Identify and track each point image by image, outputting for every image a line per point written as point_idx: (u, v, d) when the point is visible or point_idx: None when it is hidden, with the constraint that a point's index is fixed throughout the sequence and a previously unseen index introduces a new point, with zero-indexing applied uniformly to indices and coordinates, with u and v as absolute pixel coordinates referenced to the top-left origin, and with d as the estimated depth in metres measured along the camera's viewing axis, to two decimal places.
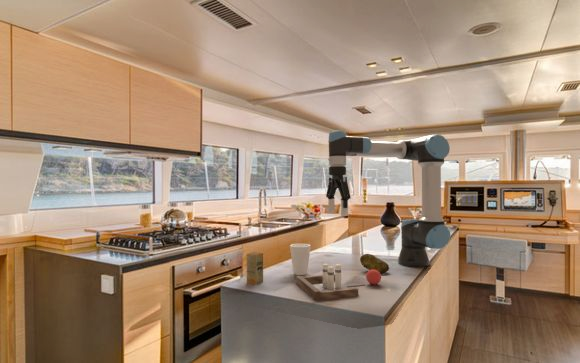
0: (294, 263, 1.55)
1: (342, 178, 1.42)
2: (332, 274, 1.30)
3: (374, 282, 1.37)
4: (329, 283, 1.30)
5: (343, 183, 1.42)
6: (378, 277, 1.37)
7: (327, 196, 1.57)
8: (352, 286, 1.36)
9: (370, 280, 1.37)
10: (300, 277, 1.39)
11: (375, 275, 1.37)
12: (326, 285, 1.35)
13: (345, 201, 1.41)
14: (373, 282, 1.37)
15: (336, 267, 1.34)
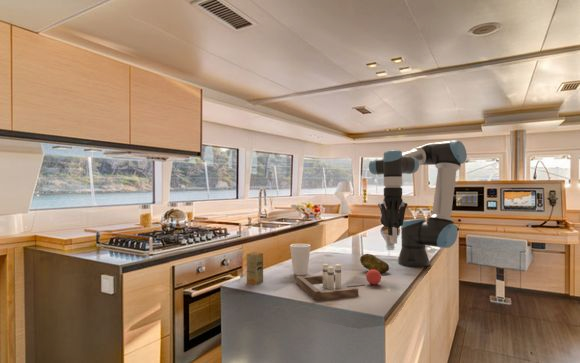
0: (294, 263, 1.55)
1: (379, 205, 1.42)
2: (332, 274, 1.30)
3: (374, 282, 1.37)
4: (329, 283, 1.30)
5: (381, 210, 1.42)
6: (378, 277, 1.37)
7: None
8: (352, 286, 1.36)
9: (370, 280, 1.37)
10: (300, 277, 1.39)
11: (375, 275, 1.37)
12: (326, 285, 1.35)
13: (388, 228, 1.42)
14: (373, 282, 1.37)
15: (336, 267, 1.34)
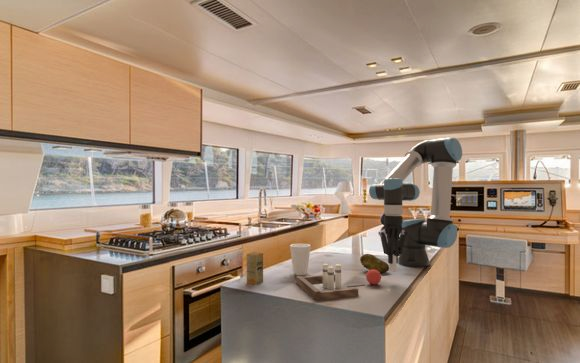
0: (294, 263, 1.55)
1: (379, 234, 1.41)
2: (332, 274, 1.30)
3: (374, 282, 1.37)
4: (329, 283, 1.30)
5: (381, 238, 1.41)
6: (378, 277, 1.37)
7: None
8: (352, 286, 1.36)
9: (370, 280, 1.37)
10: (300, 277, 1.39)
11: (375, 275, 1.37)
12: (326, 285, 1.35)
13: (388, 256, 1.42)
14: (373, 282, 1.37)
15: (336, 267, 1.34)
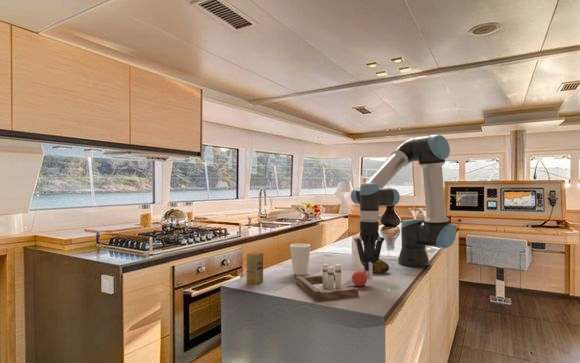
0: (294, 263, 1.55)
1: (355, 240, 1.38)
2: (332, 274, 1.30)
3: (366, 280, 1.36)
4: (329, 283, 1.30)
5: (357, 245, 1.38)
6: (361, 279, 1.34)
7: None
8: (352, 286, 1.36)
9: None
10: (300, 277, 1.39)
11: (361, 282, 1.35)
12: (326, 285, 1.35)
13: (364, 263, 1.38)
14: (366, 280, 1.36)
15: (336, 267, 1.34)
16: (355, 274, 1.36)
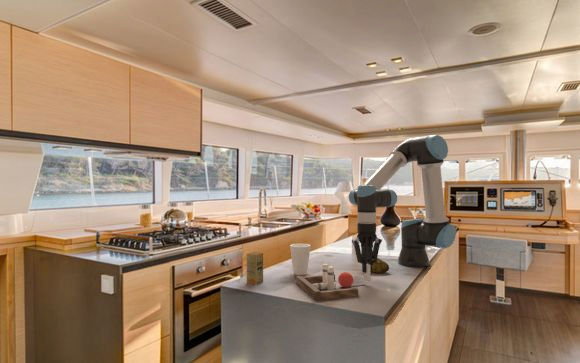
0: (294, 263, 1.55)
1: (352, 242, 1.38)
2: (332, 274, 1.30)
3: (347, 276, 1.33)
4: (329, 283, 1.30)
5: (355, 247, 1.38)
6: (349, 283, 1.33)
7: None
8: (352, 286, 1.36)
9: (349, 274, 1.34)
10: (300, 277, 1.39)
11: (351, 282, 1.33)
12: None
13: (362, 265, 1.38)
14: (347, 276, 1.33)
15: None
16: None
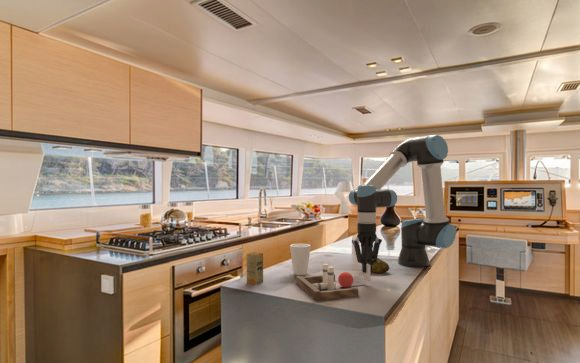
0: (294, 263, 1.55)
1: (352, 242, 1.38)
2: (332, 274, 1.30)
3: (347, 276, 1.33)
4: (329, 283, 1.30)
5: (355, 247, 1.38)
6: (349, 283, 1.33)
7: None
8: (352, 286, 1.36)
9: (349, 274, 1.34)
10: (300, 277, 1.39)
11: (351, 282, 1.33)
12: None
13: (362, 265, 1.38)
14: (347, 276, 1.33)
15: None
16: None
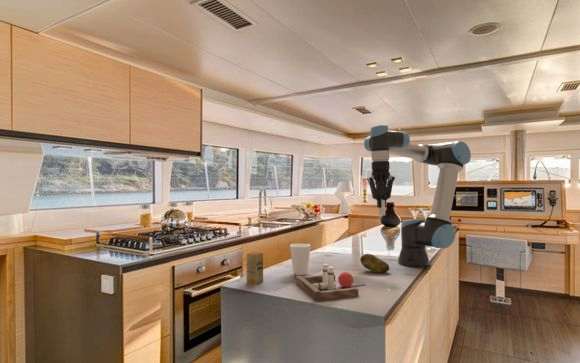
0: (294, 263, 1.55)
1: (367, 179, 1.47)
2: (332, 274, 1.30)
3: (347, 276, 1.33)
4: (329, 283, 1.30)
5: (370, 184, 1.47)
6: (349, 283, 1.33)
7: None
8: (352, 286, 1.36)
9: (349, 274, 1.34)
10: (300, 277, 1.39)
11: (351, 282, 1.33)
12: None
13: (377, 201, 1.47)
14: (347, 276, 1.33)
15: None
16: None
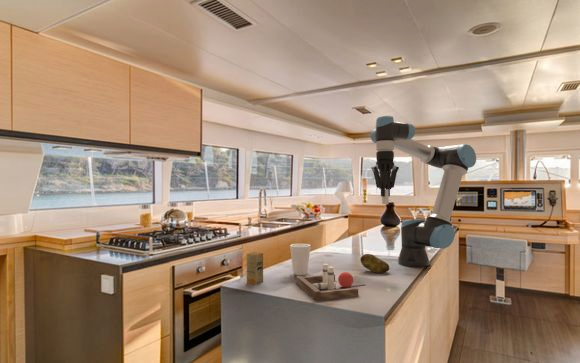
0: (294, 263, 1.55)
1: (372, 168, 1.50)
2: (332, 274, 1.30)
3: (347, 276, 1.33)
4: (329, 283, 1.30)
5: (374, 173, 1.50)
6: (349, 283, 1.33)
7: None
8: (352, 286, 1.36)
9: (349, 274, 1.34)
10: (300, 277, 1.39)
11: (351, 282, 1.33)
12: None
13: (381, 190, 1.50)
14: (347, 276, 1.33)
15: None
16: None
